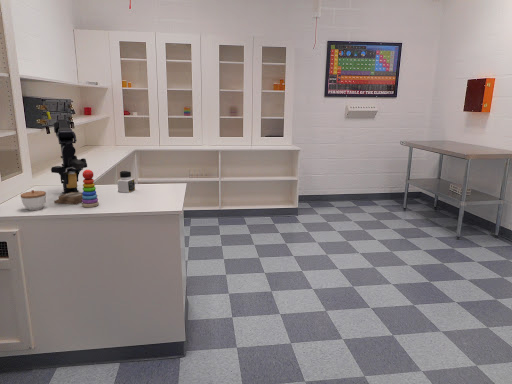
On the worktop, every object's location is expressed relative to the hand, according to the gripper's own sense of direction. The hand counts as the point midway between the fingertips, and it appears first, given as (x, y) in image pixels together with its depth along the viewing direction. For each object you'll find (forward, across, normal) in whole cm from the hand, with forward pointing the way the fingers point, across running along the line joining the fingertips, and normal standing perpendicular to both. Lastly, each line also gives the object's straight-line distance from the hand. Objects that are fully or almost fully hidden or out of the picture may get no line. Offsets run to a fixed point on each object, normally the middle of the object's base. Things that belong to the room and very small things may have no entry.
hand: (71, 183), depth 199 cm
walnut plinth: (+10, 0, 0) cm, 10 cm away
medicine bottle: (+10, +28, -12) cm, 32 cm away
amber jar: (+2, 0, 0) cm, 2 cm away
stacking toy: (+10, -4, -16) cm, 19 cm away
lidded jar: (+10, -18, +6) cm, 22 cm away
